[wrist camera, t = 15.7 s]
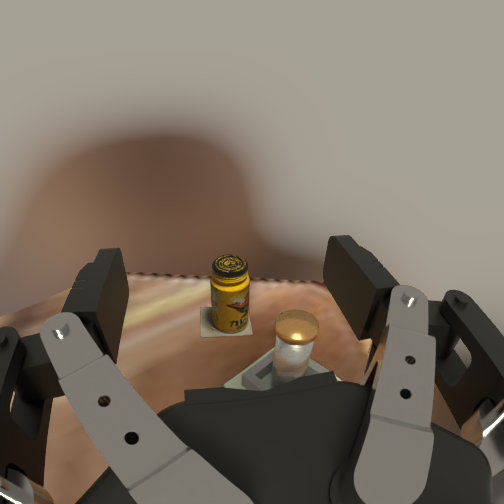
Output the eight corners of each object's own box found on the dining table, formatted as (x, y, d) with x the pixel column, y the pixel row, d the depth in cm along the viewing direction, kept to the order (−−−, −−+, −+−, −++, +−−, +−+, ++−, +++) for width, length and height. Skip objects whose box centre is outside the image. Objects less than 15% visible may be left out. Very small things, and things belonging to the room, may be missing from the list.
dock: (223, 388, 39) (223, 373, 37) (280, 345, 46) (283, 330, 45) (289, 441, 32) (293, 430, 30) (342, 385, 39) (349, 371, 38)
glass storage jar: (261, 385, 38) (266, 323, 32) (284, 366, 41) (294, 304, 35) (288, 405, 36) (301, 346, 30) (310, 384, 39) (327, 323, 33)
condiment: (252, 335, 48) (256, 274, 42) (200, 338, 47) (194, 277, 41) (247, 306, 55) (249, 248, 48) (200, 308, 53) (195, 250, 47)
